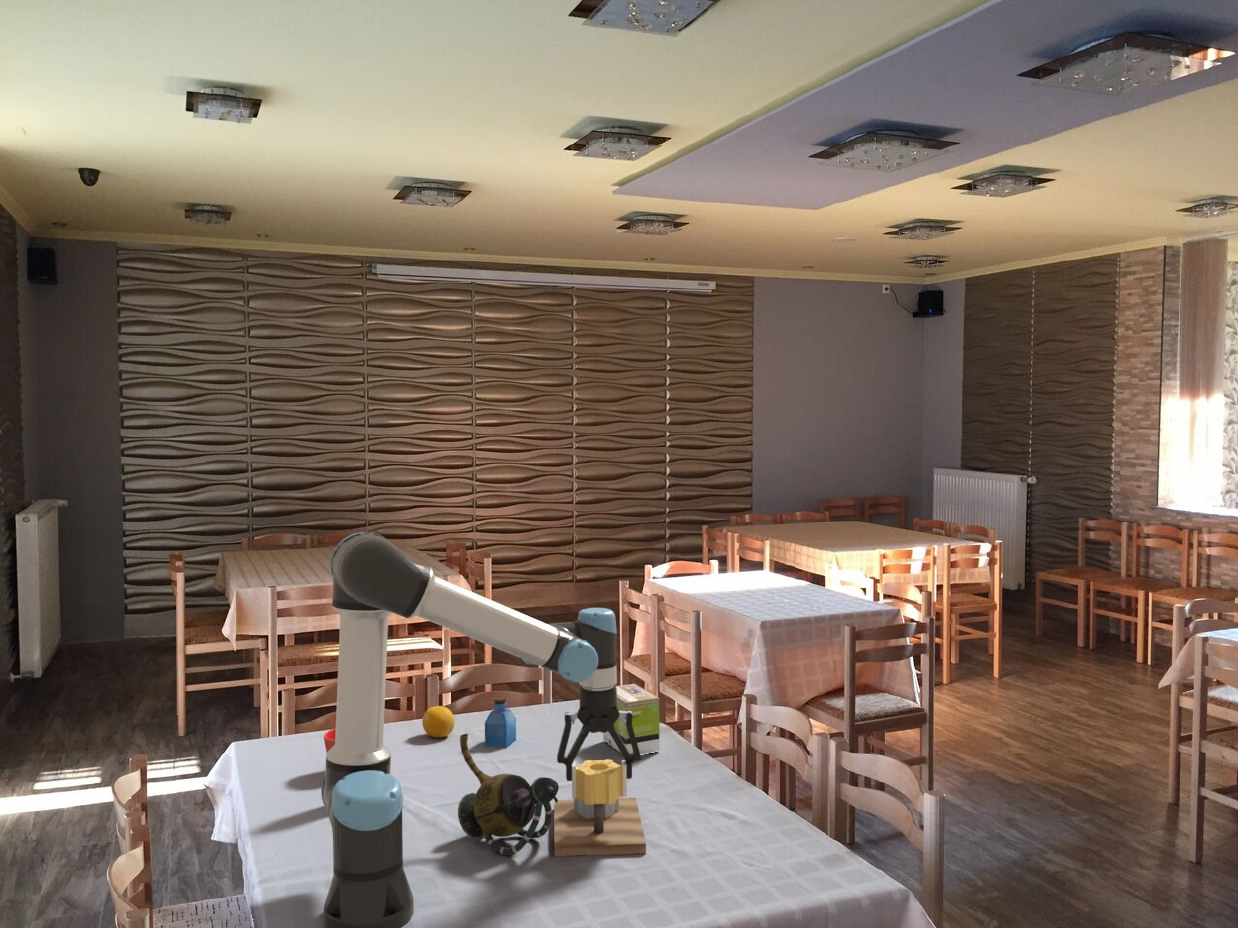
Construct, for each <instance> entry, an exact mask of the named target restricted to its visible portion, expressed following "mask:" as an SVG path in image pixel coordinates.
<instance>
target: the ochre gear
mask: <svg viewBox="0 0 1238 928" xmlns="http://www.w3.org/2000/svg"><path fill="white" fill-rule="evenodd" d="M579 798H580V799H581V800H582V801H584V802H585V804H588V805H593V804H606V803H607V804H613V803H616V800H617V799H618V798H624V797H623V767H622V764H618V763H616V762H614V760H613V759H607V758H606V759H601V760H599V759H598V760H597V759H596V760H595V759H594V760H592V759H587V760H583V762H582V763H581V764H579V766H577V765H576V799H579Z"/></svg>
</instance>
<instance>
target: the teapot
mask: <svg viewBox="0 0 1238 928" xmlns="http://www.w3.org/2000/svg"><path fill="white" fill-rule="evenodd" d="M468 739H469V734H468V733H463V734H461V735H459V745H460V750H461V753H462V757H463V759H464V761H465V763H466V765H467V766H468V767H469V768H470V770H471V771H472V773H473V774H474V775H475V777H476V778H477V780H478V781H479V783H480V786H479V788H478V789H477V790H476V792H475V793H473V792H470V793H467V794H465V795H463V797H461V799H460V801H459V803H458V808H457V818H458V822H459V825H460V827H461V829H462V831H463V833H465V834H466V835H467V836H468V837H469V838H471V839H475V840H478V839H482V838H484V839H485V842H487V844H488V845H489V846H490V848H491V850H493V851H494V852H495V853H498V854H499V855H503V856H511V855H516V854H517V853H518V852H520V851H521V850H522V849H523V848H524V847H525V846H526V845H527V843H528V842H529V841H530V839H539V838H541V837H543V836H544V835H546V833H547V832H548V830H549V828H550V826H551V824H552V819H553V810H552V805H551V803H550V802H551V801H552V800H553V801H554V800H555V801H556V803H557V802H558V800H559V799H558V797H556V796H557V795H558V792H559V789H560V787H559V783H558V782H557V781H556V780H554V779H553V778H550V777H546V776H545V777H538V778H536V779H535V778H534V779H535V780H534V781H532V784H530V783H529V782H528V781H527V779H526V778H524V777H522V776H520V775H516V774H512V773H499V774H496V775H493V776H490V775H488V774H486V773H484V771H482V770H481V769H480V768H479V767H478V766H477V765H476V763H475V761H474V759H473V757H472V755H471V752H470V750H469V746H468V741H469V740H468ZM543 807H544V813H545V815H544V822H543V825H542V826H541V828H540V829H538V830H537V828H538V826H539V823H540V820H541V816H542V811H543ZM531 820H532V821H531ZM530 822H531V823H530ZM529 823H530V825H529V827H528V830H527V829H525V827H527V825H528V824H529ZM515 834H516V835H518V836H521V837H522V838H521V839H520V840H519V841H518V842H517V843H516V844H514V845H513V846H511V847H510V846H509V847H504V846H500V845H499V844H498V843H497V841H496V840H495V839H494V837H499V838H503V837H505V838H507V837H510V836H514V835H515ZM493 836H494V837H493Z"/></svg>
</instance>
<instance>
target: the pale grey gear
mask: <svg viewBox="0 0 1238 928" xmlns="http://www.w3.org/2000/svg"><path fill="white" fill-rule="evenodd" d="M619 798H620V797H619ZM619 798H618V799H617V800H616V803H613V804H607V803H606V804H604V818H609V817H612V814H613V813H614V812H615V811H619ZM574 812H578V813H579V814H580V815H582V816H583V818H587V819H590V818H594V804H593V805H588V804H585V802H584V801H582V800H581V799H580V798H579V799H576V798H574Z"/></svg>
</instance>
